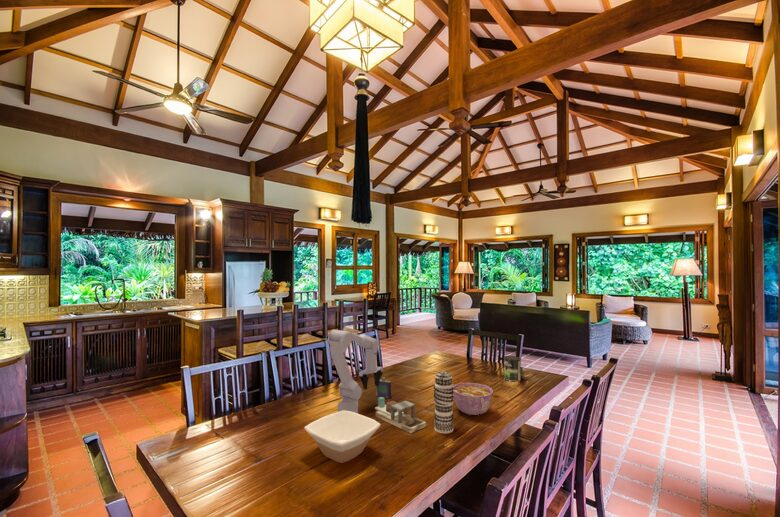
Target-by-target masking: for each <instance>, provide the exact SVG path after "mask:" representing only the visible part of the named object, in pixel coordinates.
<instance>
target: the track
mask: <svg viewBox="0 0 780 517" xmlns="http://www.w3.org/2000/svg"><path fill="white" fill-rule="evenodd" d="M409 408H411V409H410V414H411V415H410V414H409V413H408V409H409ZM395 409H397V410H398V417H395ZM402 412H404V414H403V415H402ZM375 417H376V418H378V419H380V420H383V421H385V422H387V423H388V424H391V425H392V426H395V427H396V428H399V429H401V430H402V431H405V432H407V433H409V434H412V433H415V432H418V431H420V430H421V429H424V428H426V427H427V422H426V421H425V420H422V419H420V418H418V417H416V403H414V402H410V401H408V400H403V401H401V402H397V404H395V405H392V406H391V416H389V415H387V414H384V413H382V412H380V411H378V410H376V411H375Z"/></svg>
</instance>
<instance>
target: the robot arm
mask: <svg viewBox="0 0 780 517" xmlns="http://www.w3.org/2000/svg"><path fill="white" fill-rule="evenodd" d="M327 341H328V343H329V349H330V356H331V358H332V361H333V363H334V366H335V368H336V371H337V374H338V377H339V379H340V383H339V384H338V389H339V395H340V397H341V400H340V401H339V402H338V403H337V412H339V411H343V410H346V411H351V412H354V413H357V414H359V399H360V398H361V396H362V392H363V390H368V383H369V382H368V381H369V376H367V375H370V374H373V378H374V386H375V387H376V386H378V385H379V381H380V380H381V379H382V376H383V374H384V373H383V370H384V369H383V368H384V367H383V366H377V363H378V362H377V360H378V358H377V356H378V355H377V354H378V351H379V350H378V349H379V346H380V342H379V340H378V339H377V338H374V337H373V338H372V336H370V335H367V334H366V333H362V334H361V333H360V334H357V333H355V332H352V331H349V330H341V329H335V328H334V329H331V331H330V332H329V334H328V337H327ZM351 342H356V344H357V345H358V346H361V347H363V348H364V349H365V369H362V370H361V371H359V372H358V377H359V379H360V381H361V383H362V387H363V390H362V387H361V386H360V385H359V383H358V382H357V381H356V380H354V379H353V375H352V373H351V371H350V368H349V365H348V363H347V360H346V359H347V358H346V357H345V354H344V353H345V352H347V350H348V348H349V346H350V344H351Z"/></svg>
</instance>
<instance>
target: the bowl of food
mask: <svg viewBox="0 0 780 517" xmlns="http://www.w3.org/2000/svg"><path fill="white" fill-rule="evenodd" d="M453 388H454V390H453V391H454V393H453V394H452V395H453V396H454V397H453V399H454V402H455V405H456V407H457V409H458V410H460V411H461V412H462V413H464V414H465V413H466V415H467V414H468V416H471V415H478V416H480V415H482V414H484V413H486V412H488V410H489V409H490V405H491V401H492V397H493V393H494V390H493V389H492V388H491V387H490V386H488V385H486V384H482V383H477V382H476V383H475V382H461V383H456V384H455V385H454V384H453ZM479 414H480V415H479Z"/></svg>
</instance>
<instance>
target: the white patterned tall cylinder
mask: <svg viewBox="0 0 780 517" xmlns="http://www.w3.org/2000/svg"><path fill="white" fill-rule="evenodd" d="M434 380H435V382H434V385H433V388H432V389H433V397H434V398H433V399H434V400H433V402H434V404H435V405H434V406H435V408H434V414H433V415H434V417H433V418H434V421H433V423H434V425H433V426H434V428H433V429H434V430H435V432H436V433H439V434H445V435H446V434H450V433H453V431H454V413H453V412H454V411H453V405H454V402H455V399H454V394H453V393H454V391H453V390H454V388H453V386H454V384H453V376H452V374H450V372H448V371H438V372H437V373H436V374H435V375H434Z"/></svg>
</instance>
